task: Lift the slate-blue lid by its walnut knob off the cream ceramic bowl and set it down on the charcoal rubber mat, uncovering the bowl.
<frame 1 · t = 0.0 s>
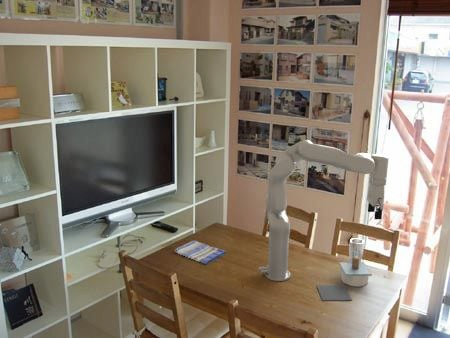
hand: (374, 215, 220), 31 cm above the table, fingers open, 9 cm apart
cover: (355, 269, 221), point 6 cm above the table, touching bowl
dish towel: (199, 254, 251), on the table
beer glass: (354, 268, 235), on the table
mat: (333, 293, 212), on the table
bowl: (354, 281, 223), on the table
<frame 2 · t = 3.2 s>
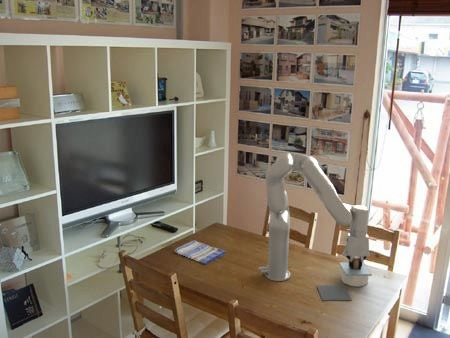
hand: (355, 267, 221), 7 cm above the table, fingers closed on cover, 3 cm apart
cover: (355, 269, 221), point 6 cm above the table, touching bowl, gripper
everything else where it was.
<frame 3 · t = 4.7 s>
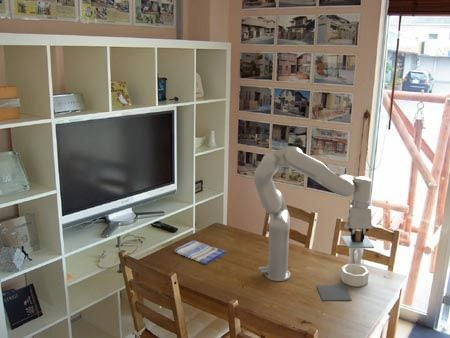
hand: (357, 240, 217), 21 cm above the table, fingers closed on cover, 3 cm apart
cover: (357, 242, 217), point 20 cm above the table, touching gripper
everything else where it was.
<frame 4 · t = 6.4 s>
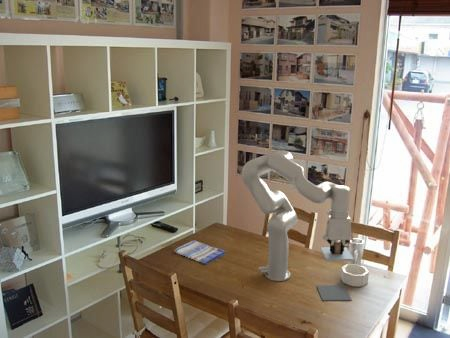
hand: (336, 252, 206), 20 cm above the table, fingers closed on cover, 3 cm apart
cover: (336, 254, 207), point 19 cm above the table, touching gripper
everything else where it was.
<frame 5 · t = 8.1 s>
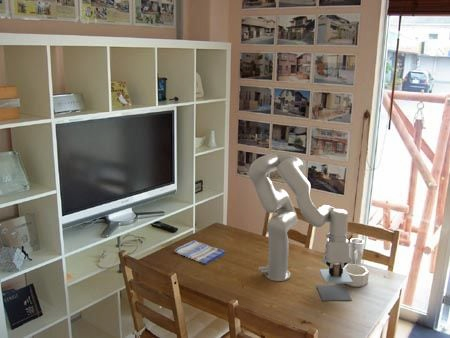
hand: (335, 274, 209), 9 cm above the table, fingers closed on cover, 3 cm apart
cover: (335, 276, 209), point 8 cm above the table, touching gripper
everything else where it was.
when the fingers open (3 cm above the table, at t = 9.7 s): cover drops 1 cm, resting on mat.
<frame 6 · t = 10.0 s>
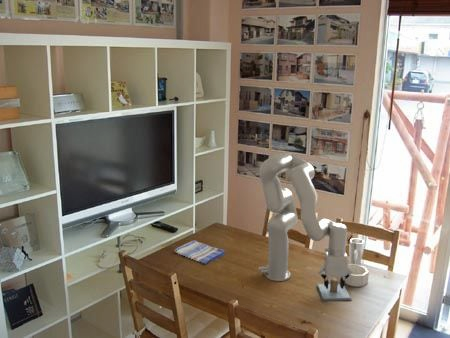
hand: (334, 286, 211), 3 cm above the table, fingers open, 6 cm apart
cover: (333, 292, 212), resting on mat
everything else where it was.
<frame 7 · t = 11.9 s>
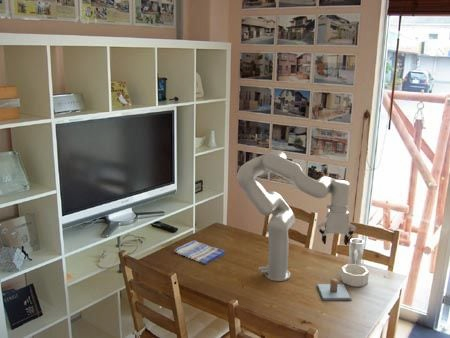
hand: (334, 243, 211), 22 cm above the table, fingers open, 9 cm apart
nothing on the table moved.
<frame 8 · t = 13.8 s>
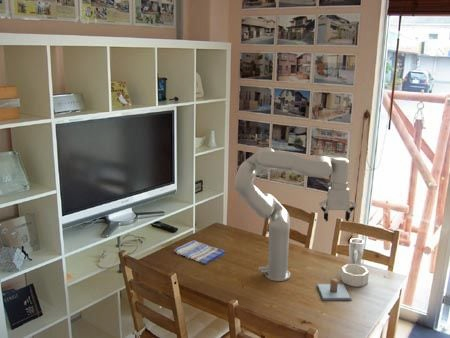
hand: (336, 220, 216), 30 cm above the table, fingers open, 9 cm apart
nothing on the table moved.
at the end: cover inside the target area on the mat (0.1 cm from its centre), point 0.4 cm above the mat's base; cover touching mat; the gripper is holding nothing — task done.
